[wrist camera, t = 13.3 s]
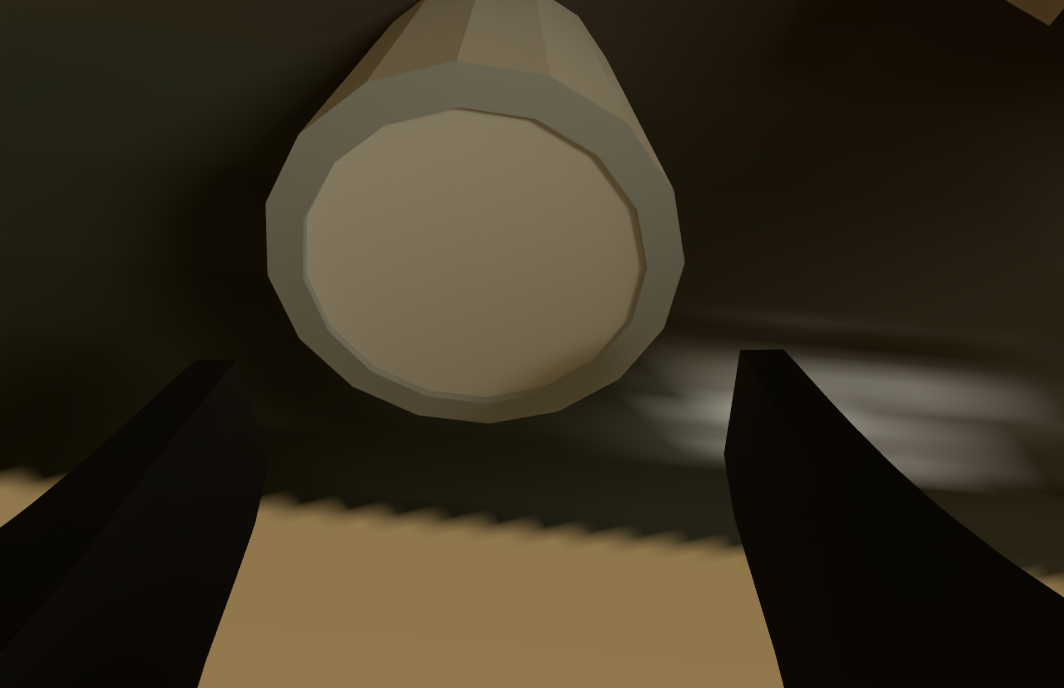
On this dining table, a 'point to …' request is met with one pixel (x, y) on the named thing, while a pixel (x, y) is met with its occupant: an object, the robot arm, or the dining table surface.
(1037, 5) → the frame
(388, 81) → the shot glass
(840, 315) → the dining table surface
